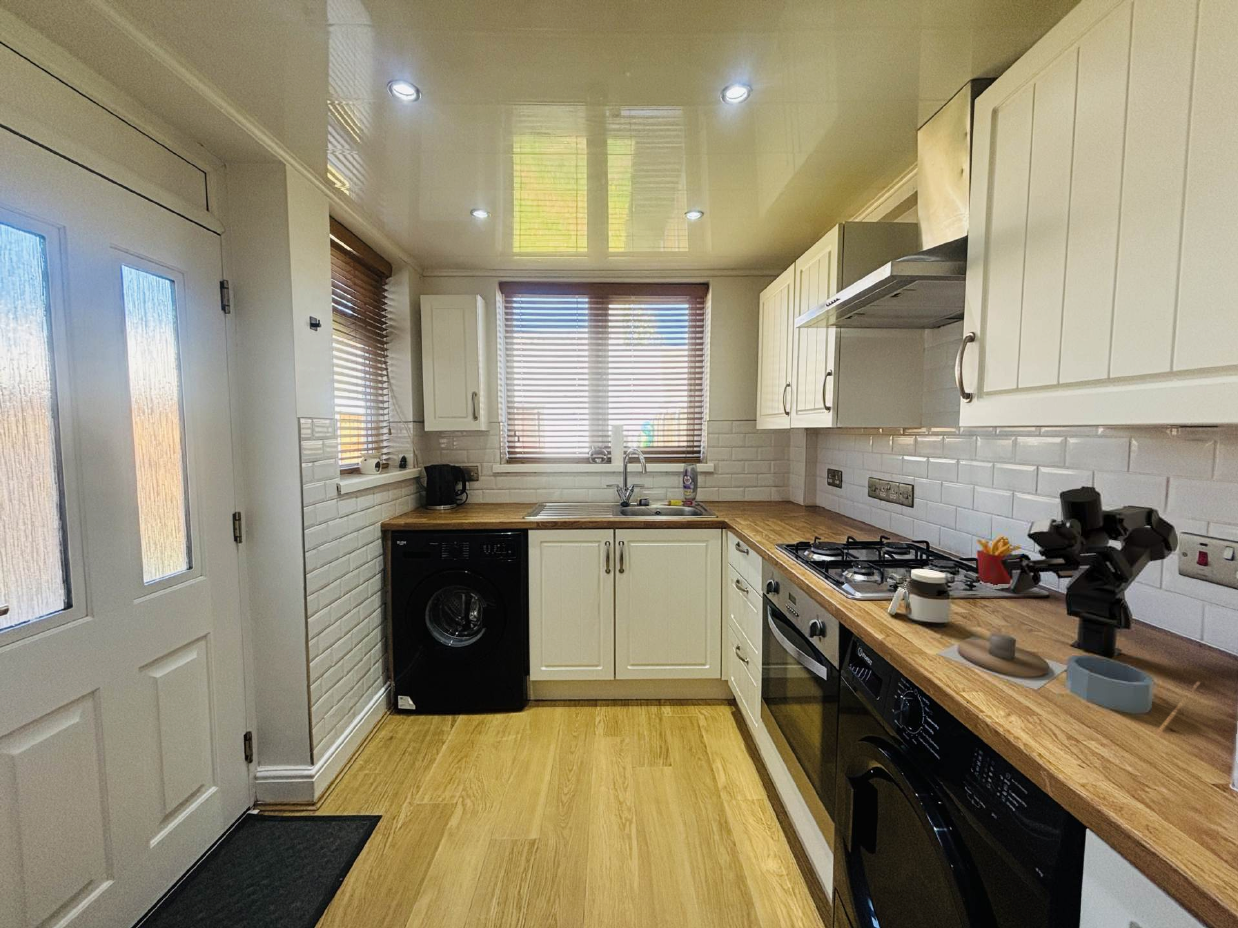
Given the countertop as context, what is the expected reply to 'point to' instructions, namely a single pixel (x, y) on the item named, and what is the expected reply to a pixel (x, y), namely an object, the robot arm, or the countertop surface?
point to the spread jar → (924, 598)
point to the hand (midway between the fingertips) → (1039, 591)
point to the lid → (1003, 657)
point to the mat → (1028, 682)
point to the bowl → (1110, 683)
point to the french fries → (994, 561)
